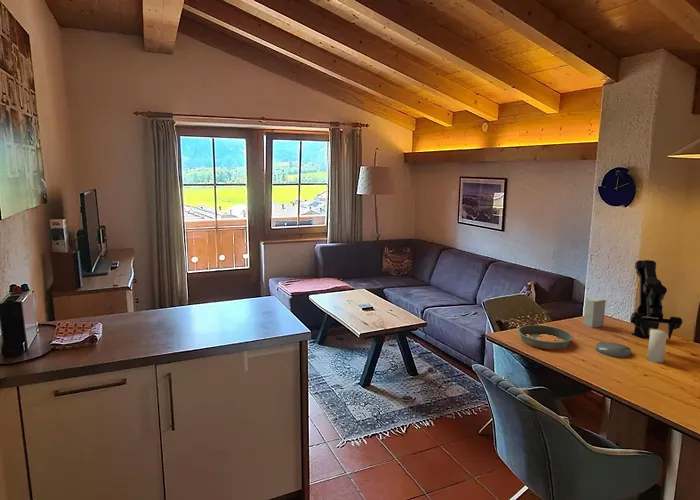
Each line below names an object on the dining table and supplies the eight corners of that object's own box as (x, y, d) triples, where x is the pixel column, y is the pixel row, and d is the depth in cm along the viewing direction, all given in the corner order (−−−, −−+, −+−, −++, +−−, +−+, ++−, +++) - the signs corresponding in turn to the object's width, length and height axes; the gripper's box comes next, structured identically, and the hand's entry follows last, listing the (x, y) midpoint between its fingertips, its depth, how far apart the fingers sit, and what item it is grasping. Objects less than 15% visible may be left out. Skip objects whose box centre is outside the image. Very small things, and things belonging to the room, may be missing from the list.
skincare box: (594, 323, 250) (597, 296, 248) (603, 326, 245) (606, 299, 242) (582, 324, 247) (585, 298, 245) (591, 328, 242) (594, 300, 239)
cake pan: (530, 351, 210) (530, 342, 209) (509, 333, 234) (510, 324, 234) (582, 351, 211) (583, 341, 210) (557, 332, 235) (557, 324, 235)
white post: (653, 356, 204) (657, 328, 202) (666, 361, 199) (670, 333, 197) (643, 358, 202) (647, 330, 200) (656, 363, 197) (660, 334, 195)
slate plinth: (611, 344, 219) (611, 340, 218) (638, 355, 206) (638, 351, 205) (588, 348, 214) (589, 343, 214) (614, 359, 201) (615, 354, 201)
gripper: (674, 317, 211) (677, 348, 203) (627, 312, 218) (628, 342, 210) (680, 305, 203) (684, 337, 195) (632, 300, 210) (633, 331, 202)
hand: (656, 337), depth 200 cm, fingers open, 9 cm apart
